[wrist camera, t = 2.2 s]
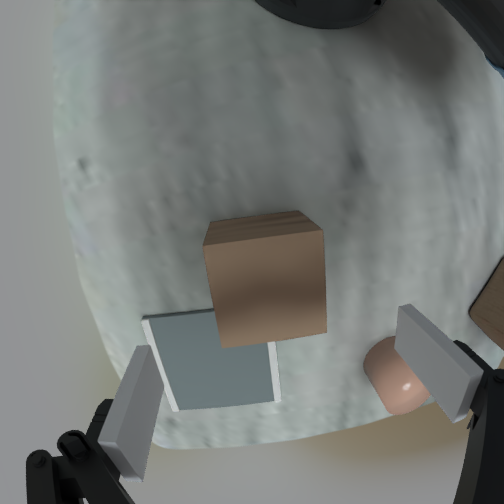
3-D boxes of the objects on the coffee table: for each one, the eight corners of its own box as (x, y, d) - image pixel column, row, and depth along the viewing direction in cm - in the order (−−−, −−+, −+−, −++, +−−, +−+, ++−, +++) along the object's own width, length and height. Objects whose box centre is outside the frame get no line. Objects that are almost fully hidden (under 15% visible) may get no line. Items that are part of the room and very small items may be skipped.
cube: (210, 221, 28) (202, 245, 20) (298, 210, 28) (322, 229, 20) (223, 302, 30) (221, 348, 23) (304, 290, 30) (326, 332, 23)
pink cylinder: (365, 342, 33) (390, 379, 26) (412, 330, 33) (441, 362, 26) (361, 383, 35) (381, 421, 28) (405, 371, 35) (429, 404, 28)
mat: (143, 316, 30) (141, 320, 29) (270, 301, 30) (271, 305, 29) (174, 406, 34) (173, 411, 33) (280, 396, 34) (281, 401, 33)
